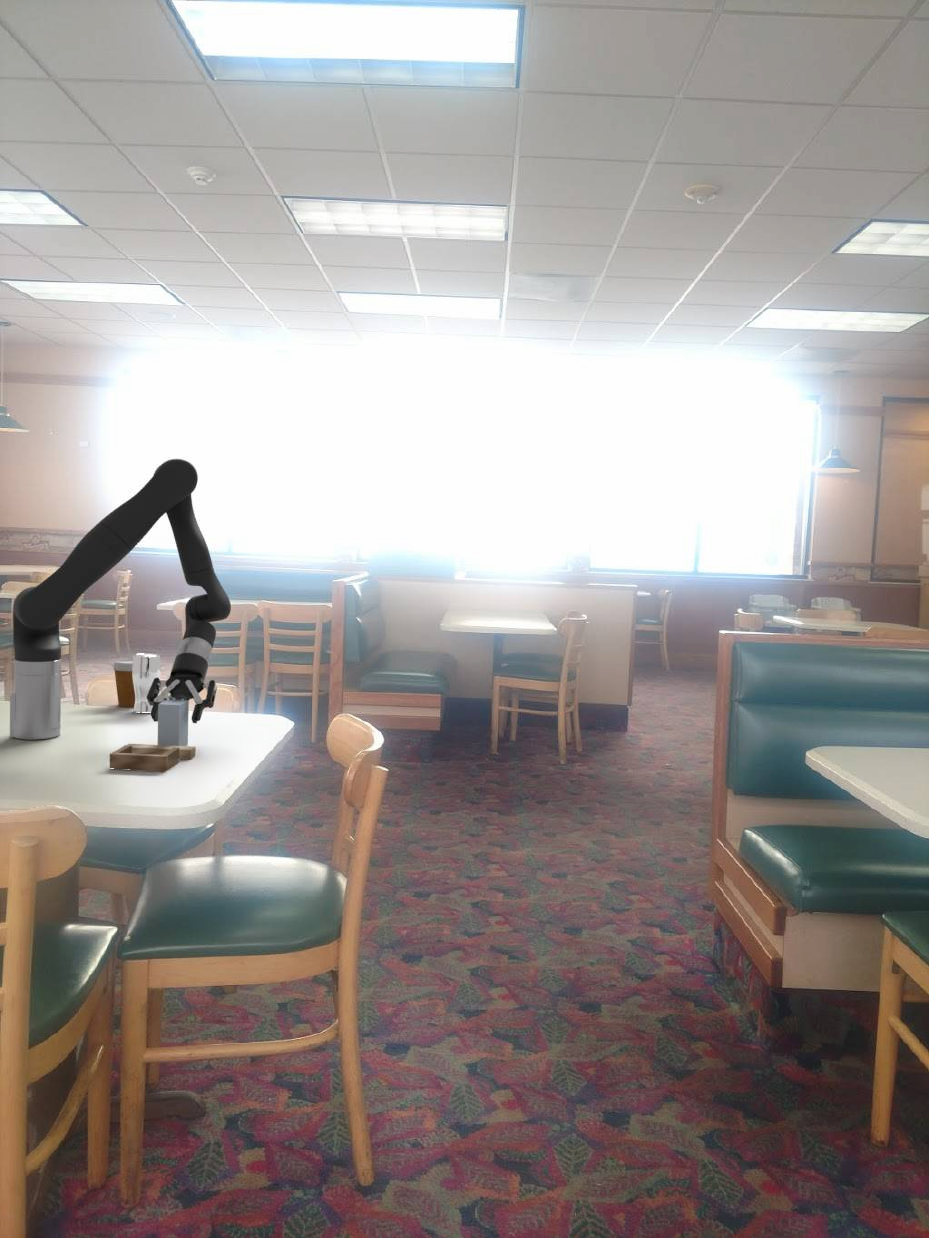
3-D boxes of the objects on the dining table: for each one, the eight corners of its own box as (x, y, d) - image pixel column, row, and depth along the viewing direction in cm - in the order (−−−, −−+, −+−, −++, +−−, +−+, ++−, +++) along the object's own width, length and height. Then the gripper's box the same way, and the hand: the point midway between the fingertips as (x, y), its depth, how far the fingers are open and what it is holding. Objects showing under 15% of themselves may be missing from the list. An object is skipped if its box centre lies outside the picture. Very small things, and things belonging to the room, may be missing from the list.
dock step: (122, 756, 171) (122, 746, 171) (128, 752, 174) (128, 743, 174) (190, 759, 171) (190, 749, 171) (195, 755, 174) (195, 746, 174)
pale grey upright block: (157, 750, 177) (158, 704, 177) (168, 743, 184) (168, 699, 183) (178, 751, 177) (179, 705, 177) (188, 744, 184) (189, 700, 183)
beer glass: (164, 712, 217) (165, 655, 216) (138, 715, 212) (139, 657, 211) (152, 708, 222) (153, 652, 221) (126, 710, 217) (127, 654, 216)
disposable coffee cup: (141, 709, 220) (142, 664, 219) (105, 707, 220) (106, 662, 219) (155, 702, 230) (156, 660, 229) (121, 701, 230) (121, 658, 229)
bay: (109, 769, 161) (109, 754, 160) (125, 759, 168) (125, 745, 168) (165, 771, 161) (166, 756, 161) (179, 762, 168) (179, 747, 168)
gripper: (157, 650, 188) (136, 709, 177) (220, 652, 188) (203, 712, 177) (165, 670, 193) (146, 728, 183) (226, 672, 194) (210, 731, 183)
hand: (174, 720), depth 180 cm, fingers open, 8 cm apart
